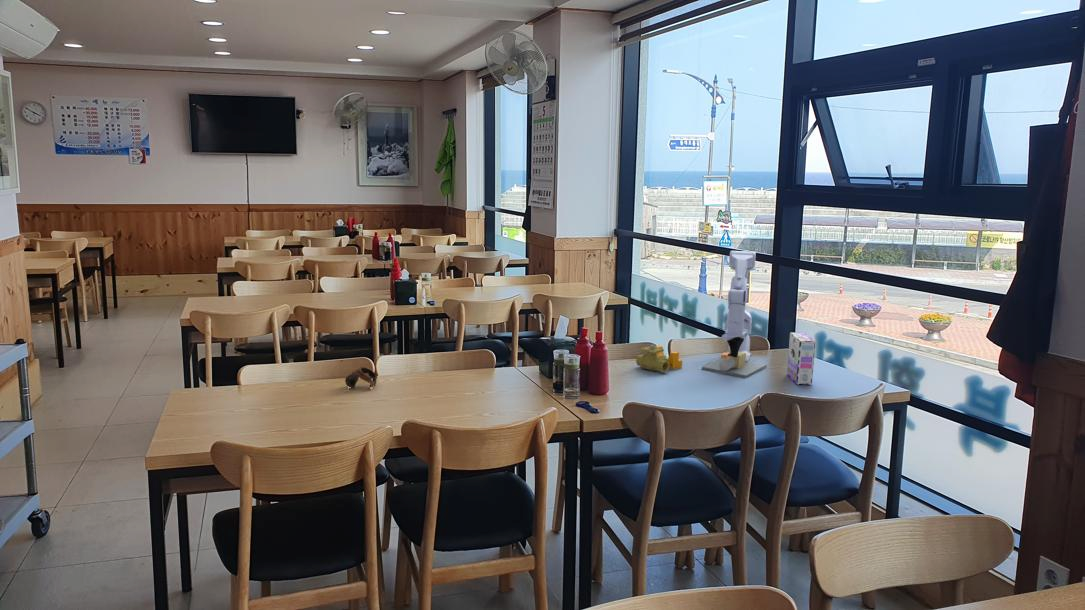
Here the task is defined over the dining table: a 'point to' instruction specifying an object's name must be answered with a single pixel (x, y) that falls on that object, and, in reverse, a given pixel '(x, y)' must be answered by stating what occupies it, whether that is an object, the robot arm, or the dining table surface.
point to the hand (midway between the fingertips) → (733, 356)
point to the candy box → (801, 358)
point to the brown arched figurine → (361, 377)
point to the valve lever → (726, 355)
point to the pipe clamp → (672, 359)
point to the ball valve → (653, 359)
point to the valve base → (735, 365)
